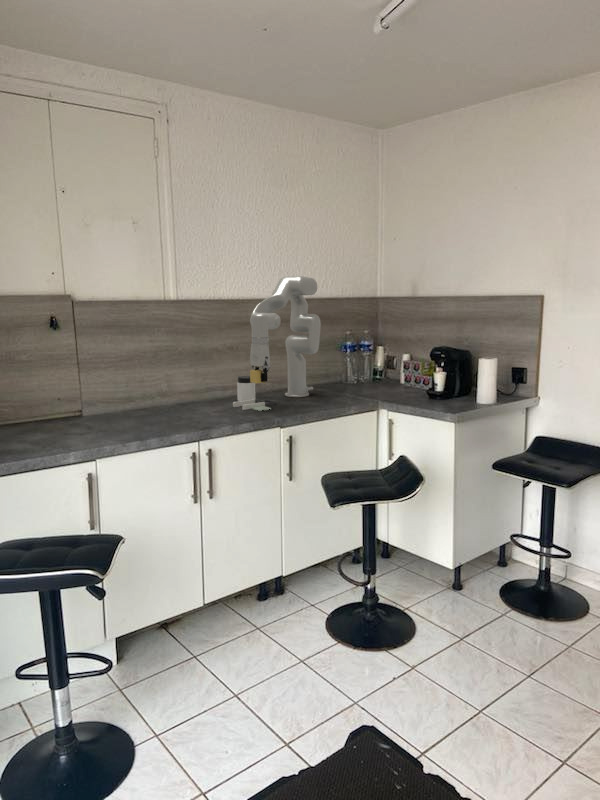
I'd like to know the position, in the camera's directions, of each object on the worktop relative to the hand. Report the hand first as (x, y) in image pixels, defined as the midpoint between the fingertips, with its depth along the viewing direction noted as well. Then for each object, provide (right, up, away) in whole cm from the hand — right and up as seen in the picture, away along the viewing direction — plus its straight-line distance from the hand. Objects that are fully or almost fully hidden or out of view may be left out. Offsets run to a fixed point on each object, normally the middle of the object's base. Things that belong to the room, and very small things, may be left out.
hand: (260, 380), depth 265 cm
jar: (-9, -9, +24) cm, 27 cm away
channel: (-6, -12, +8) cm, 16 cm away
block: (-1, -1, -1) cm, 2 cm away
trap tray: (+2, -11, +14) cm, 18 cm away
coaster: (0, -13, +3) cm, 14 cm away
